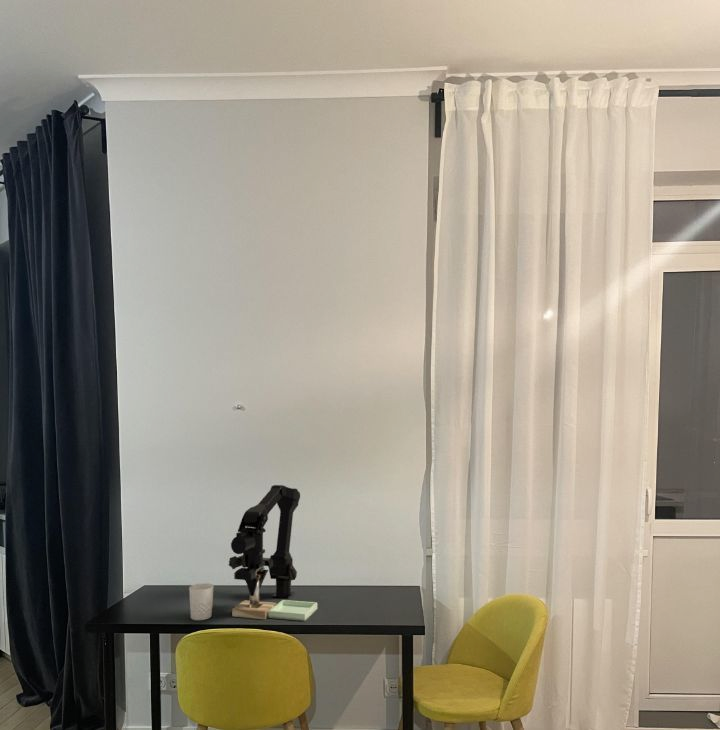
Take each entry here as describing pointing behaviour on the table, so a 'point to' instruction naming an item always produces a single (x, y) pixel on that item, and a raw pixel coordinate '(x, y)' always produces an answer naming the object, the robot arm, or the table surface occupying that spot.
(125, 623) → the table surface
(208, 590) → the white cup
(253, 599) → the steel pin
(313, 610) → the tray
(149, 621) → the table surface
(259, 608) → the block
